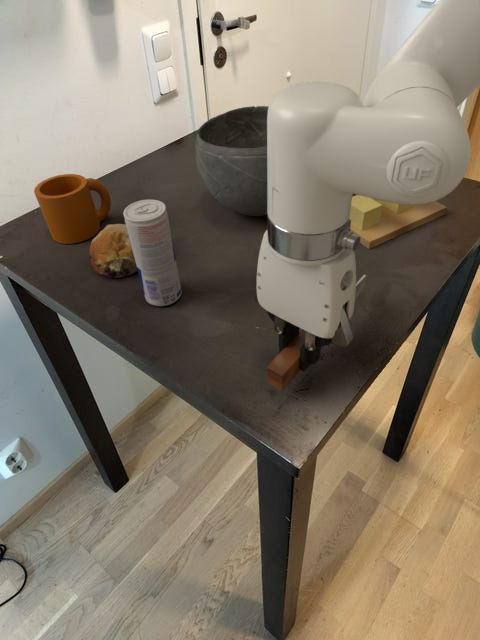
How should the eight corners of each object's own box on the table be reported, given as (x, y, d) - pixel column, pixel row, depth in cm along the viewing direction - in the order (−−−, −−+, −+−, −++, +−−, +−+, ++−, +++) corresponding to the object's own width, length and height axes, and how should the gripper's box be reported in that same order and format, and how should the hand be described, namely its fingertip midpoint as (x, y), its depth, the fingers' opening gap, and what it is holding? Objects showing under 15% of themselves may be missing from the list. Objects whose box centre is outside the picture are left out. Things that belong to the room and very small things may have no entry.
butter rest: (392, 195, 85) (395, 177, 83) (413, 206, 82) (417, 188, 80) (376, 202, 84) (379, 184, 81) (396, 214, 81) (400, 195, 78)
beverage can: (189, 291, 71) (174, 203, 61) (166, 313, 68) (146, 224, 57) (161, 280, 73) (142, 194, 63) (137, 300, 70) (113, 213, 60)
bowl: (278, 169, 98) (278, 94, 88) (334, 215, 84) (342, 132, 74) (185, 195, 92) (174, 118, 82) (229, 248, 78) (222, 164, 68)
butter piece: (359, 210, 82) (362, 192, 80) (379, 223, 79) (382, 204, 77) (341, 218, 81) (343, 199, 78) (361, 230, 78) (364, 212, 75)
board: (395, 188, 90) (396, 181, 89) (445, 214, 82) (447, 207, 81) (322, 217, 84) (322, 210, 83) (368, 249, 76) (370, 241, 75)
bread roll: (162, 273, 80) (165, 227, 77) (125, 286, 71) (127, 234, 69) (115, 261, 84) (117, 216, 81) (74, 271, 75) (75, 222, 72)
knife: (282, 391, 54) (282, 375, 52) (267, 382, 55) (266, 366, 53) (370, 292, 65) (373, 275, 63) (356, 286, 66) (358, 270, 64)
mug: (122, 231, 84) (110, 186, 78) (55, 249, 81) (36, 203, 75) (111, 209, 90) (99, 165, 84) (49, 225, 87) (31, 180, 81)
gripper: (404, 239, 42) (372, 369, 55) (263, 189, 50) (264, 314, 62) (363, 281, 38) (340, 412, 51) (217, 220, 46) (228, 347, 58)
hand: (298, 357), depth 57 cm, fingers closed on knife, 2 cm apart
